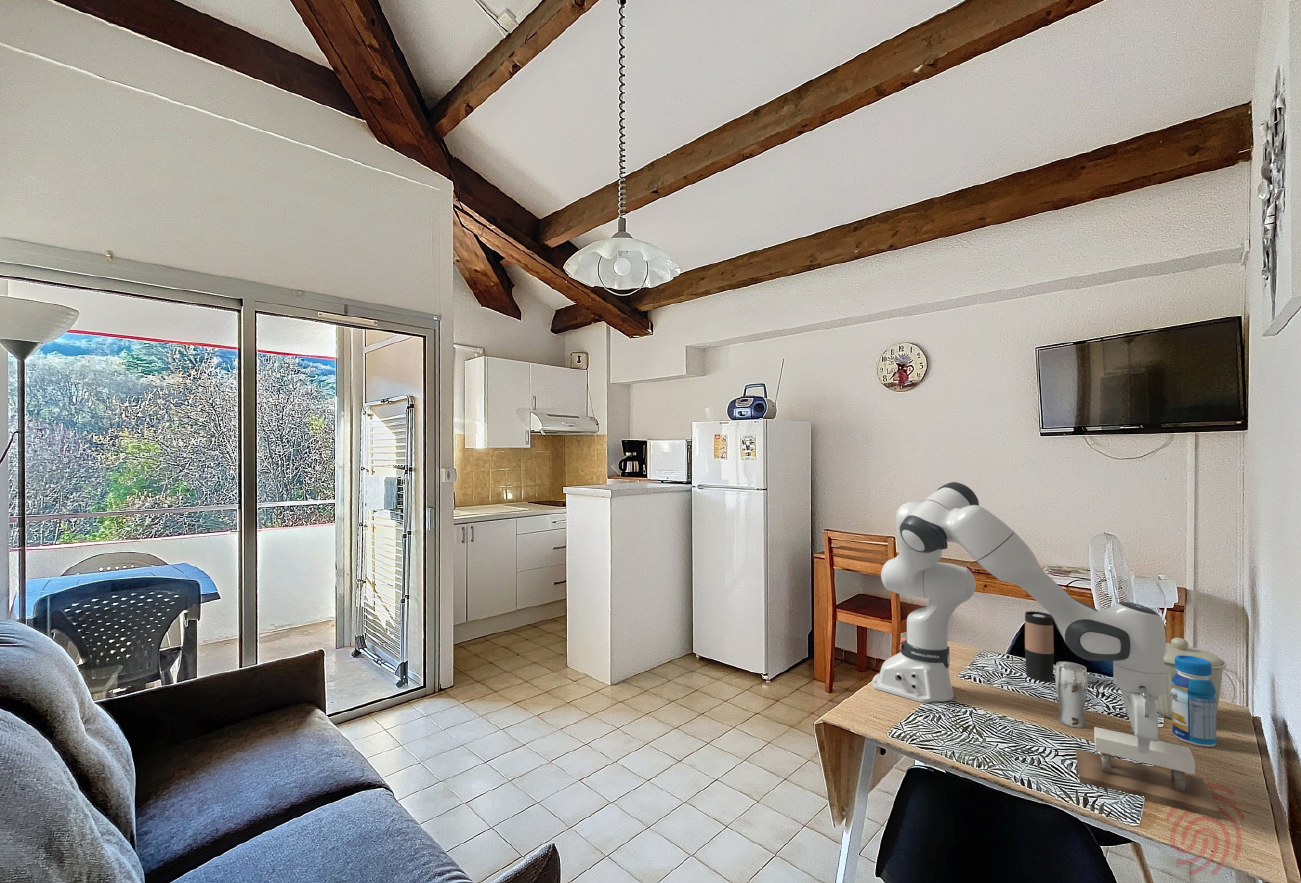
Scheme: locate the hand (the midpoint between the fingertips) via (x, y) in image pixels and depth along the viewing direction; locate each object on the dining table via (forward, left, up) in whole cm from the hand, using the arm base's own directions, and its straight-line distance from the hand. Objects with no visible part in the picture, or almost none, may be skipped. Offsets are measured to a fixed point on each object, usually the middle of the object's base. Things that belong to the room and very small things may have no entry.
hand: (1140, 744), depth 125 cm
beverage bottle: (+14, +33, -9) cm, 37 cm away
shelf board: (0, 0, -3) cm, 3 cm away
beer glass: (-11, +27, -9) cm, 30 cm away
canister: (+14, +49, -9) cm, 52 cm away
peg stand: (0, 0, -9) cm, 9 cm away
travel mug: (-18, +60, -9) cm, 63 cm away
